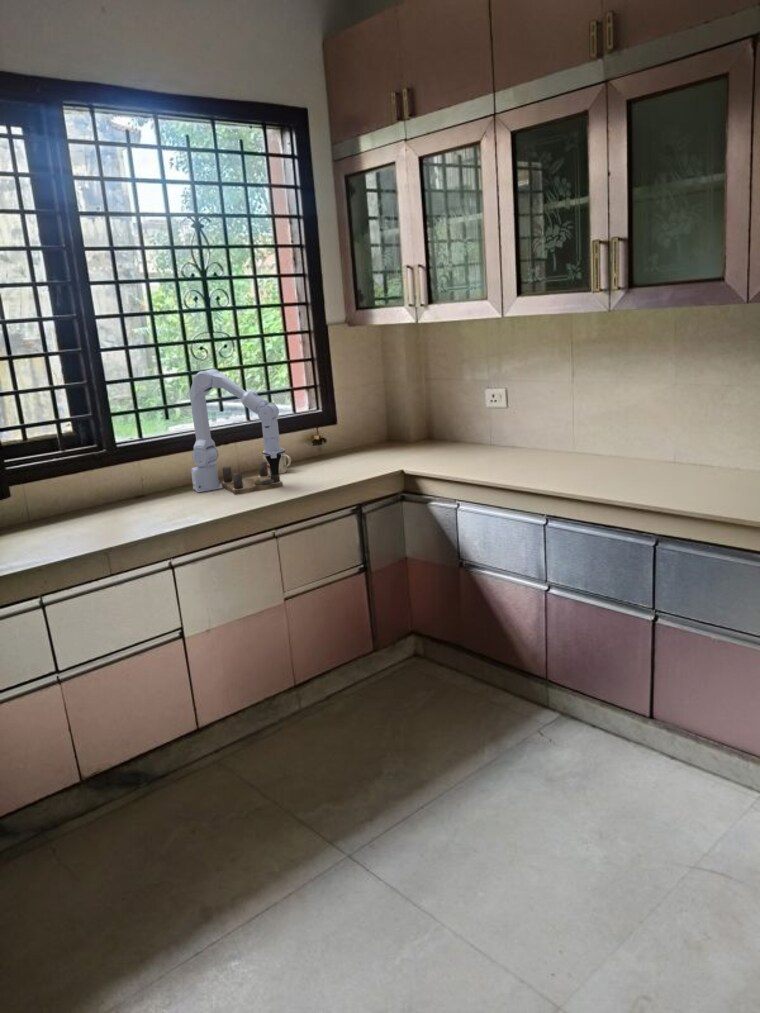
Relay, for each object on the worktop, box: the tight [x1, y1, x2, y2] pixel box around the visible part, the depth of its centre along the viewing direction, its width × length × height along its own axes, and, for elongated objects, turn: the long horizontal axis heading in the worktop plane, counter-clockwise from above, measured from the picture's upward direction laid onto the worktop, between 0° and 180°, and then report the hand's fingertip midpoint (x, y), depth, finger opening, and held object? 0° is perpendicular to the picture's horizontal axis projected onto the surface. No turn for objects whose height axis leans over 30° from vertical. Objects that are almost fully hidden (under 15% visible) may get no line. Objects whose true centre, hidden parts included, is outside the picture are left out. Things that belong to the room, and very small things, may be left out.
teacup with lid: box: [262, 448, 292, 476], centre depth 308 cm, size 12×9×12 cm
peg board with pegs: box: [221, 460, 284, 495], centre depth 288 cm, size 18×18×7 cm
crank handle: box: [254, 466, 281, 485], centre depth 283 cm, size 10×3×6 cm, turn 116°
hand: (275, 474), depth 282 cm, fingers closed, pressing on crank handle
